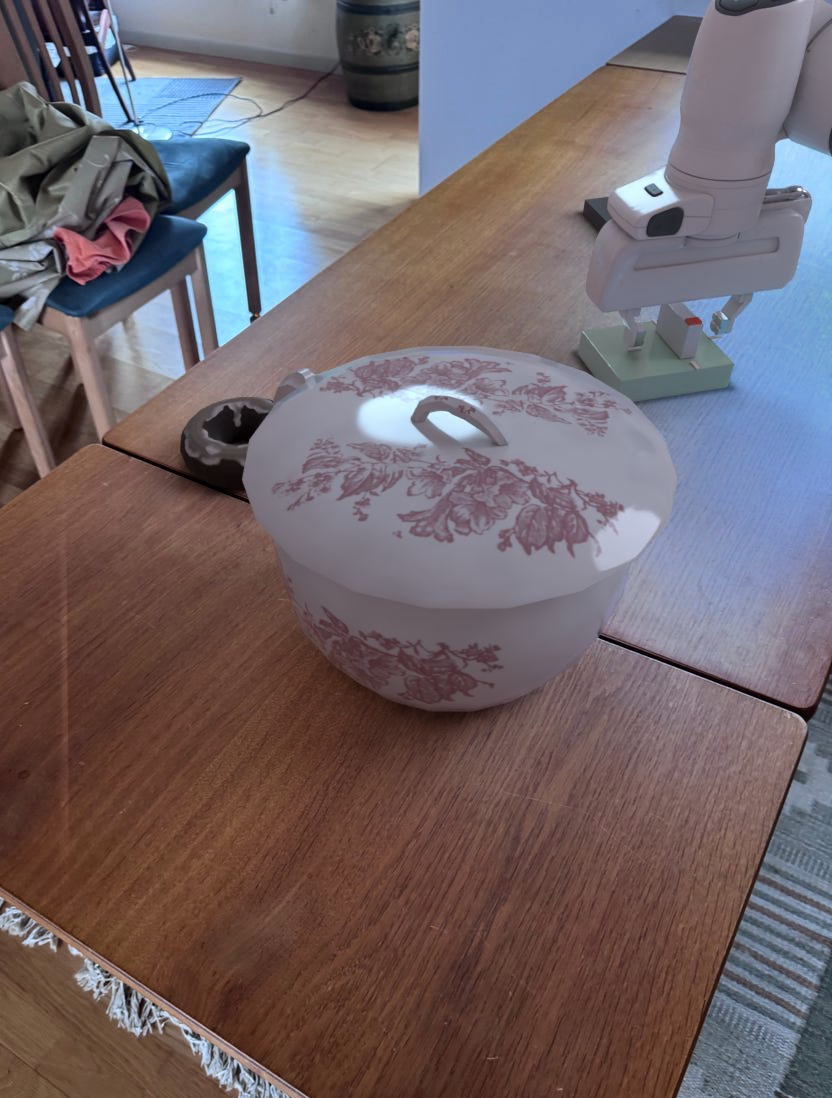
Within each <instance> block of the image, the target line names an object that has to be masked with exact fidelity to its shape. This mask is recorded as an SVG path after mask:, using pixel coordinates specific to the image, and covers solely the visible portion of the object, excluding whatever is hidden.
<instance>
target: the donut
mask: <svg viewBox="0 0 832 1098" xmlns="http://www.w3.org/2000/svg"><path fill="white" fill-rule="evenodd" d="M273 400H274V399H270V398H265V397H258V396H238V397H231V398H226V399H222V400H219V401H216V402H212V403H211V404H209V405H207V406H205V407H203V408H201V409H200V410H198V411H197V412H196V413H195V414H194V415H192V417H191V418H190V419H189V420H188V421H187V423H186V424H185V426H184V428H183V430H182V431H181V435H180V442H179V452H180V454H181V457H182V459H183V462H184V465H185V466H186V468H187V469H188V470H189V471H190V472H191V473H192V474H193V475H194V476H196V477H197V478H198V479H199V480H201V481H204V482H205V483H207V484H210V485H212V486H214V487H219V488H224V489H229V490H246V489H245V486H244V484H243V481H242V478H243V472H244V467H245V461H246V456H247V450H248V445H249V442H246V443H234V442H237V441H242V440H243V441H244V440H250V438H251V437H252V436H253V434H254V433H255V431H256V430H257V429H258V427H259V426H260V425H261V423H262V422H263V421H264V419H265V418H266V416H267V415H268V414H269V412H270V411H271V410H272V408H273V407H274V401H273Z"/></svg>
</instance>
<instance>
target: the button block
mask: <svg viewBox="0 0 832 1098" xmlns="http://www.w3.org/2000/svg"><path fill="white" fill-rule="evenodd" d="M608 198H609V196H602V197H594V198H586V199H584V203H583V210H582V215H583V216H584V217H585V218H586V219H587V221H589V222H590V224H591V225H592V226H594V228H596V229H597V231H598V232H600V230H601V229H602V227H603V226H604V225H605V224H606V223H607V222H608V221H609V220H611V219H612V216H611V215H610V213H609V212H608V209H607V204H608Z"/></svg>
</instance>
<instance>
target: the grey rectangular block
mask: <svg viewBox="0 0 832 1098" xmlns="http://www.w3.org/2000/svg"><path fill="white" fill-rule="evenodd" d="M656 320H657V323H656V328H655V331H656V332H657V333H658V334H659V335H660V336H661V337H662V339H663V340H664V341H665V342H666V343H667V344H668V345H669V346H670V348H671V349H672V350H673V351H674V352H675V353H676V354H677V356H678V357H679V358H680V359H685V358H692V357H695V356H696V352H697V348H698V345H699V341H700V337H701V334H702V330H703V329H704V326H705V324H704V323H703V320H702V319H701V318H700V317H699V316H697V315H695V313H693V312H692V310H691V309H690V308H689V307H687V305H686V304H685V302H680V303H673V304H666V305H659V311H658V314H657V319H656ZM703 331H704V330H703Z"/></svg>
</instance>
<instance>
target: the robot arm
mask: <svg viewBox="0 0 832 1098" xmlns="http://www.w3.org/2000/svg"><path fill="white" fill-rule="evenodd" d="M689 57H690V58H689V61H688V65H687V69H686V73H685V78H684V82H683V87H682V92H681V96H680V101H679V114H680V122H679V129H678V132H677V135H676V137H675V140H674V142H673V144H672V146H671V148H670V151H669V153H668V158H667V163H666V164H664V165H662V166H660V167H659V168H657V169H655V170H653V171H651V172H649V173H647V174H645V175H643V176H641V177H639V178H637V179H635V180H633V181H631V182H628V183H626V184H624V185H622V186H619V187H617V188H615V189H614V190H613V191H611V193H610V194H609V196H608V197H609V198H608V204H607V209H608V212H609V213H610V215H611V216H612V219H611V220H609V221H608V222H607V223H606V224H605V225H604V226H603V227H602V229H601V230H600V231H598V234H597V236H596V239H595V242H594V245H593V249H592V252H591V256H590V260H589V265H588V269H587V270H588V271H587V273H586V274H587V275H586V281H585V292H586V295H587V297H588V298H589V300H590V301H591V302H592V304H593V305H594V306H595V307H596V308H597V309H598V310H599V311H600V312H601V313H604V314H605V313H606V314H607V313H613V312H618V313H619V316H620V318H621V321H622V322H623V325H625V328H624V333H623V342H624V344H625V345H626V346H627V347H635V346H642V345H643V343H644V341H643V339H644V337H645V334H646V330H645V329H644V328H643V327H641V326H642V325H641V324H640V323H641V322H636V320H635V318H639V317H640V315H641V312H642V308H650V307H657V306H661V305H666V304H673V303H680V302H683V303H687V302H692V301H693V302H694V301H695V302H696V301H702V300H708V299H709V300H710V299H716V298H717V299H718V298H725V297H729V298H728V300H727V301H726V303H725V304H724V306H722V308H721V309H720V310H718V311H713V313H712V315H711V319H712V320H711V321H710V322H709V329H710V331H711V332H713V334H714V336H715V335H726V334H731V333H732V330H733V327H734V323H735V320H736V319H737V318H738V317H739V316H740V315H741V314H742V313H743V312H744V310H745V309H747V307H748V306H749V305H750V303H751V302H752V300H753V297H754V294H755V293H760V292H761V293H762V292H769V291H775V290H781V289H784V288H785V287H786V286H787V285H788V284H789V283H790V282H791V281H792V280H793V279H794V277H795V274H796V272H797V269H798V265H799V260H800V256H801V253H802V247H803V241H804V235H805V226H806V223H807V221H808V218H809V216H810V213H811V210H812V207H813V199H812V195H811V193H810V191H808V190H806V189H804V187H803V186H802V185H789V186H786V187H771V188H769V183H770V181H771V177H772V172H773V169H774V167H775V161H776V144H777V143H778V142H781V141H783V140H787V139H789V140H790V141H791V142H793V143H795V144H797V145H800V146H803V147H805V148H808V149H811V150H813V151H816V152H818V153H820V154H823V155H825V156H827V157H831V158H832V4H830V3H829V2H826V1H825V0H710V2H709V4H708V6H707V8H706V10H705V12H704V15H703V17H702V20H701V23H700V25H699V28H698V31H697V34H696V37H695V40H694V43H693V47H692V50H691V54H690V56H689Z"/></svg>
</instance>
